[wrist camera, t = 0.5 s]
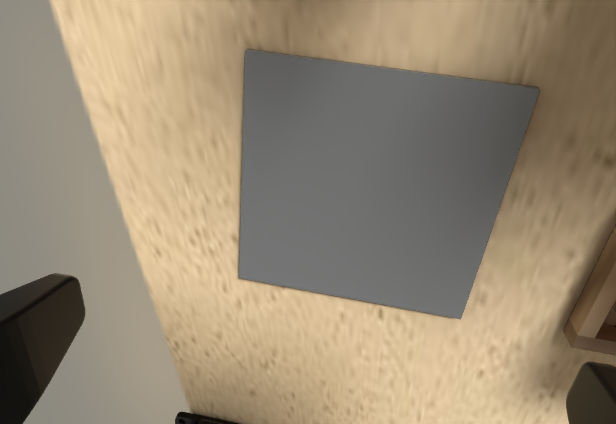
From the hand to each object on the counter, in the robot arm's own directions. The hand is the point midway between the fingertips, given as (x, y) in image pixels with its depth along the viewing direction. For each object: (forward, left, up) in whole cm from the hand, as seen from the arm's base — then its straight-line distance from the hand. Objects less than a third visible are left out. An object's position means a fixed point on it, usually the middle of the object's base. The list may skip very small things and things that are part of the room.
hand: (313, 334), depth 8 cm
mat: (-4, -1, -14) cm, 14 cm away
